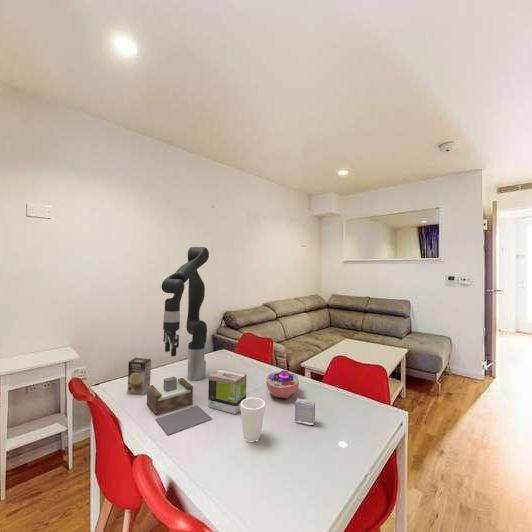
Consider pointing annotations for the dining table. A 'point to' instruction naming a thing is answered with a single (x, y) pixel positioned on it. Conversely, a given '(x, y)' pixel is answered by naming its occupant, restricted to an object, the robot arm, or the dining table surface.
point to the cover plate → (172, 393)
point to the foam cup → (252, 417)
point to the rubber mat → (182, 420)
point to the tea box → (226, 390)
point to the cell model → (282, 384)
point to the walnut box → (169, 403)
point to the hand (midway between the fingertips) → (170, 353)
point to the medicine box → (305, 410)
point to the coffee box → (139, 376)
